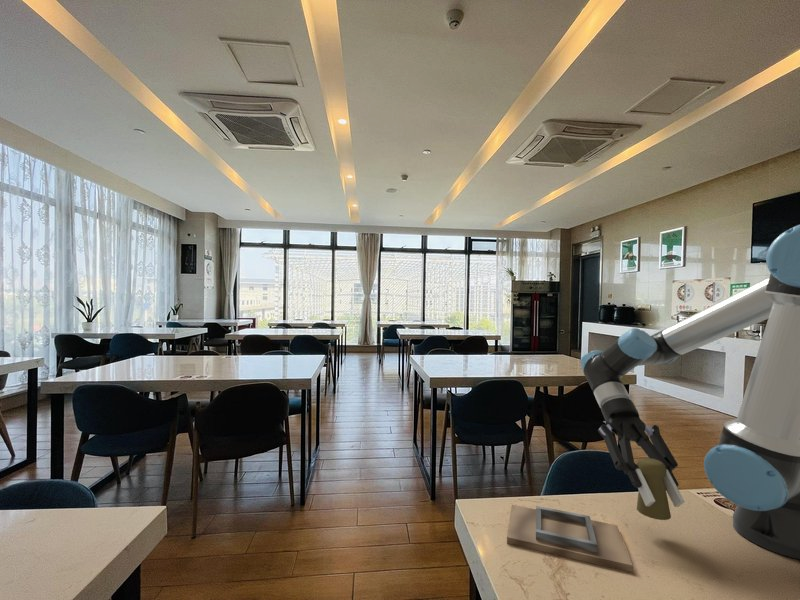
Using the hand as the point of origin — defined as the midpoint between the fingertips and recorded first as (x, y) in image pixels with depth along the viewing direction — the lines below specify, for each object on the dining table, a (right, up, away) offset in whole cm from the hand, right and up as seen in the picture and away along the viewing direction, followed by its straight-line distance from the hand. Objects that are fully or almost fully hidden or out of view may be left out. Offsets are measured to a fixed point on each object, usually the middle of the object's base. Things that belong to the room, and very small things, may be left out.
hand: (665, 503), depth 74 cm
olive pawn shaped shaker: (0, -4, +3) cm, 5 cm away
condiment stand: (-20, -8, +2) cm, 21 cm away
